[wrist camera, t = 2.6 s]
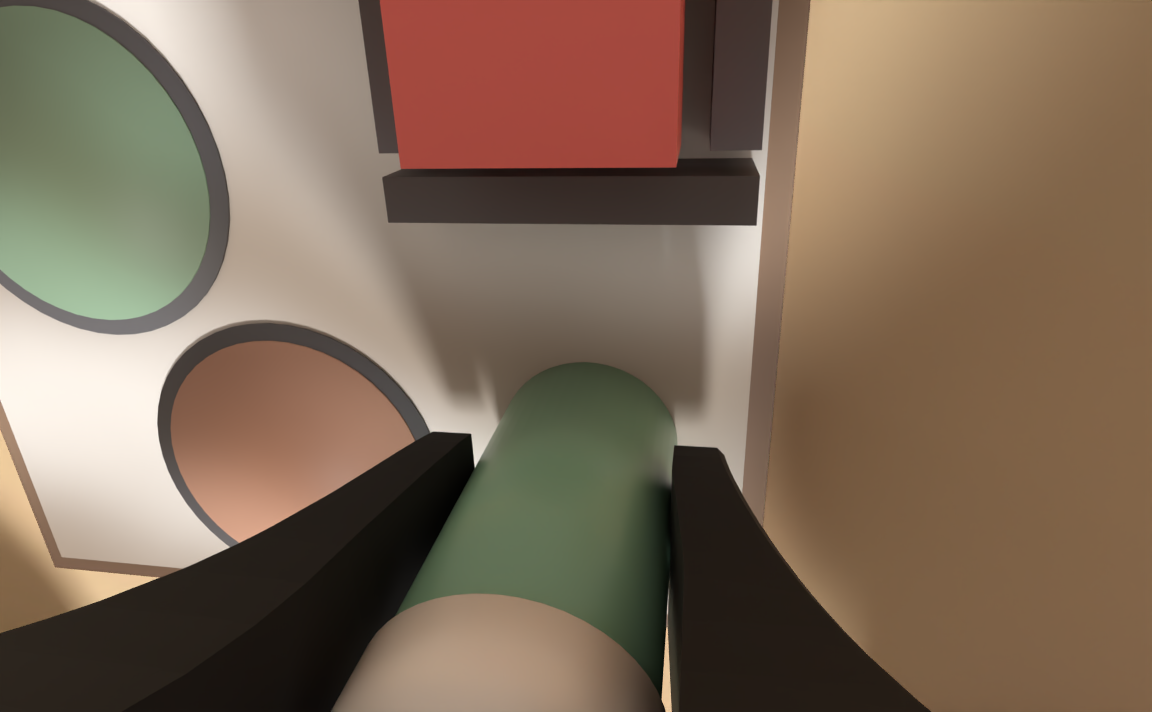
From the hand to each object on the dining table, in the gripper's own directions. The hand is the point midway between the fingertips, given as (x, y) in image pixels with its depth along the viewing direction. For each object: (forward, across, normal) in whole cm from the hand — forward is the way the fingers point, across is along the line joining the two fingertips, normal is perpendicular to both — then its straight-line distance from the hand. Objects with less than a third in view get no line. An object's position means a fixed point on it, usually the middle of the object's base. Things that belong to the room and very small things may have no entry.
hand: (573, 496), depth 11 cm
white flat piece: (+3, +4, -2) cm, 6 cm away
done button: (0, 0, -7) cm, 7 cm away
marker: (+2, 0, 0) cm, 2 cm away
